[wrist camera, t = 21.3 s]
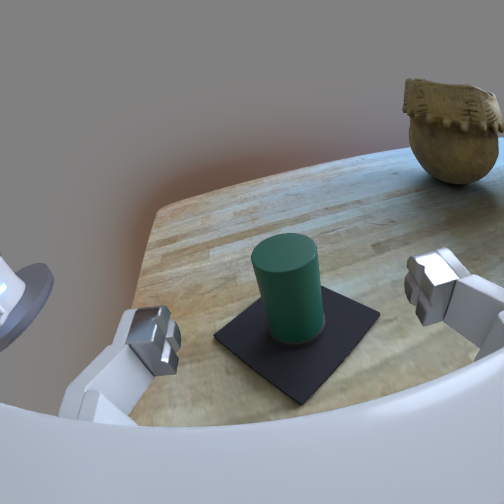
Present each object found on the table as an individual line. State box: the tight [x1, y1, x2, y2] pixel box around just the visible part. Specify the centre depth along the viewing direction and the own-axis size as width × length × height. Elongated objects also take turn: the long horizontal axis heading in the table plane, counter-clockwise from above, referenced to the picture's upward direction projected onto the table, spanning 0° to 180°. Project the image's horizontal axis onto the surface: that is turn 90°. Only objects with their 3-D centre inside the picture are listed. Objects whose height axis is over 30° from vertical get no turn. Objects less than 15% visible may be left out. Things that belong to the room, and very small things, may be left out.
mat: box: [213, 286, 380, 406], centre depth 28 cm, size 12×12×1 cm
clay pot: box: [402, 78, 504, 184], centre depth 41 cm, size 21×21×20 cm
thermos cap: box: [251, 233, 326, 349], centre depth 25 cm, size 6×6×9 cm
